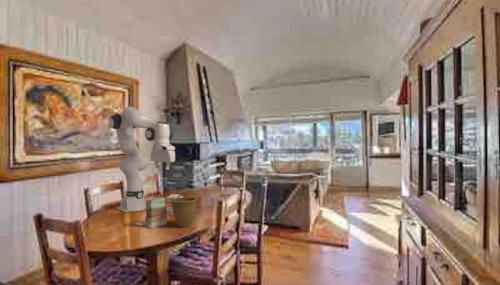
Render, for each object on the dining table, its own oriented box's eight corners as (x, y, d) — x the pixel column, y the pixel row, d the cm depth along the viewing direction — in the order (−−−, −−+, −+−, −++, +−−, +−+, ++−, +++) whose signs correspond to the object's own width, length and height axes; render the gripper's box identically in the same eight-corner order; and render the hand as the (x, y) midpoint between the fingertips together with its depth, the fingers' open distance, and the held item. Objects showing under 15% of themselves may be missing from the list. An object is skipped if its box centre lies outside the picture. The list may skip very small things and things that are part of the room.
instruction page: (133, 223, 197) (133, 223, 197) (146, 220, 204) (146, 220, 204) (140, 225, 193) (140, 225, 193) (153, 222, 200) (153, 221, 200)
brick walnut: (146, 216, 190) (146, 208, 190) (160, 213, 198) (159, 205, 198) (151, 217, 187) (151, 209, 187) (165, 214, 196) (165, 206, 195)
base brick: (145, 226, 190) (145, 216, 190) (160, 222, 199) (160, 212, 199) (151, 228, 187) (151, 218, 187) (166, 223, 196) (166, 214, 196)
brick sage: (146, 208, 190) (146, 199, 190) (160, 205, 198) (159, 197, 198) (151, 209, 187) (151, 200, 187) (165, 206, 195) (165, 197, 195)
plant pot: (201, 223, 195) (201, 197, 194) (187, 230, 181) (187, 202, 181) (181, 221, 201) (181, 196, 201) (166, 227, 187) (165, 200, 187)
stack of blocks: (175, 208, 239) (175, 191, 239) (184, 208, 239) (183, 191, 239) (166, 215, 218) (165, 197, 218) (175, 215, 218) (174, 197, 217)
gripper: (148, 146, 206) (148, 167, 207) (168, 147, 194) (168, 170, 195) (156, 146, 212) (156, 167, 212) (176, 147, 199) (176, 169, 200)
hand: (162, 168), depth 203 cm, fingers open, 8 cm apart
